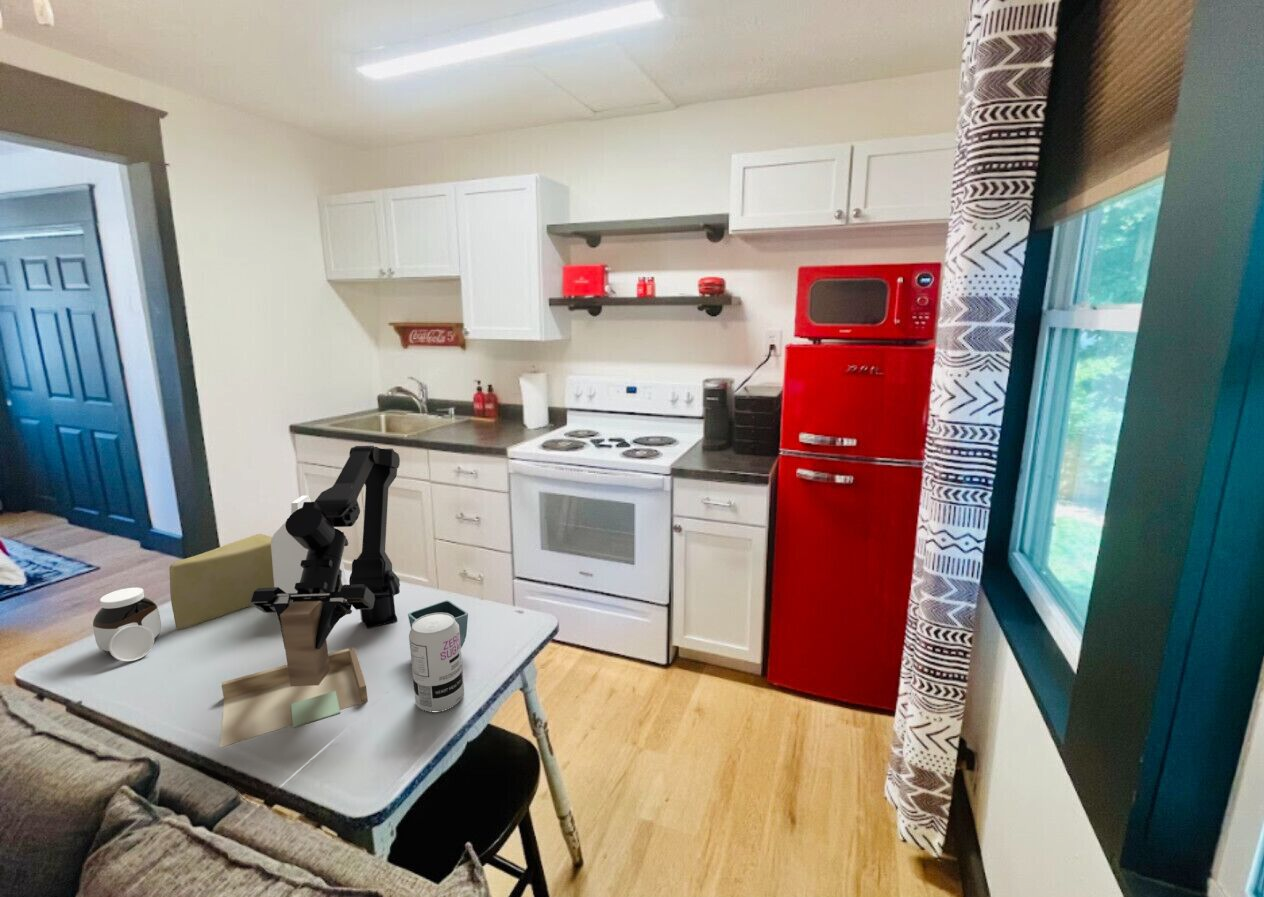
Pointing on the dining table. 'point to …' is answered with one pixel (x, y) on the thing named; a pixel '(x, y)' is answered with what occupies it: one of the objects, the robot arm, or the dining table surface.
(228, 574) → the cheese
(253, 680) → the tray
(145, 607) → the spread jar
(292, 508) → the milk
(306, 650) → the walnut block
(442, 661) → the supplement can
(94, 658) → the dining table surface
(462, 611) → the flower pot
